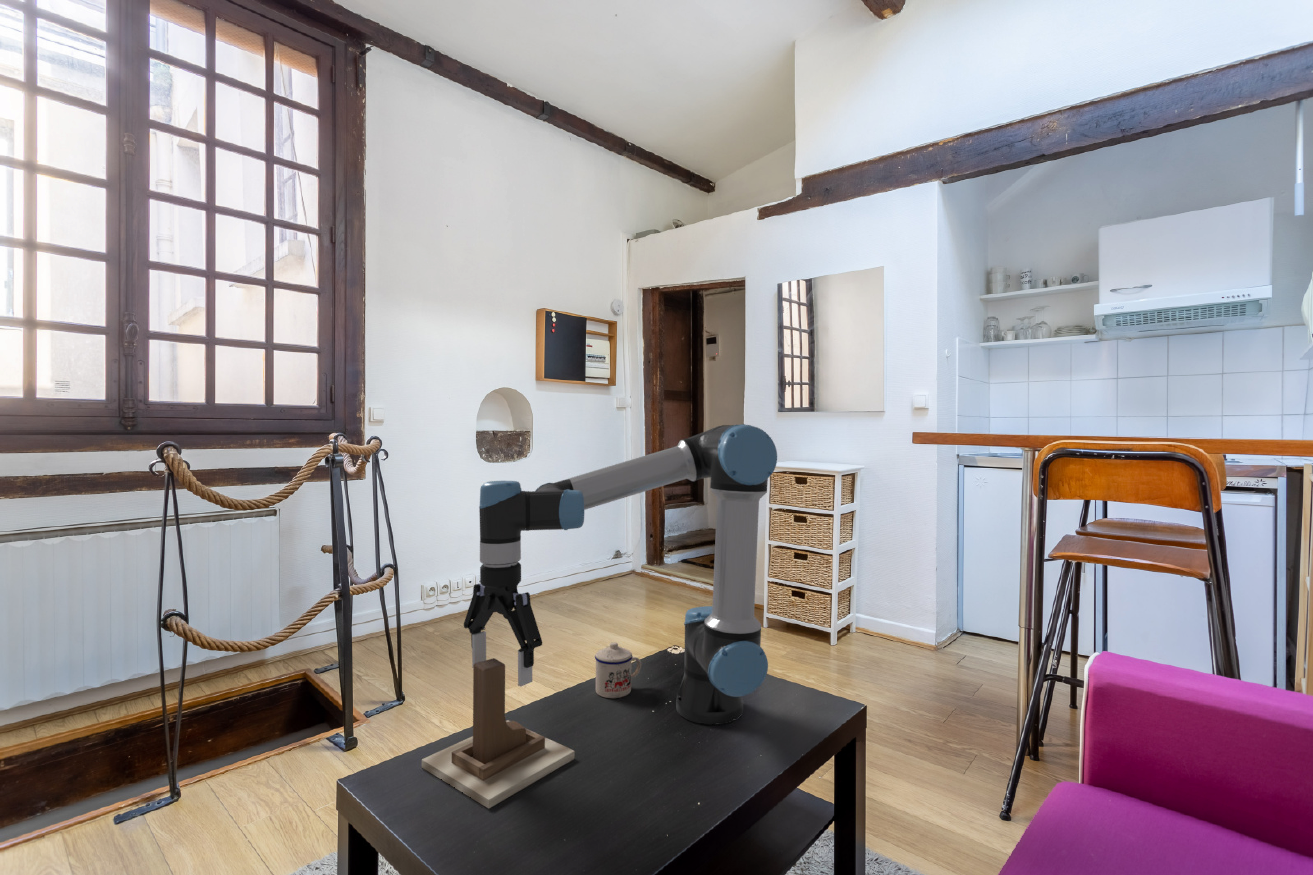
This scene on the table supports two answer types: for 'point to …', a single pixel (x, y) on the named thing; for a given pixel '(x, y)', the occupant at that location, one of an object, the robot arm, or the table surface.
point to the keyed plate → (497, 768)
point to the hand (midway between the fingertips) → (501, 674)
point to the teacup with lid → (614, 671)
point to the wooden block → (492, 714)
